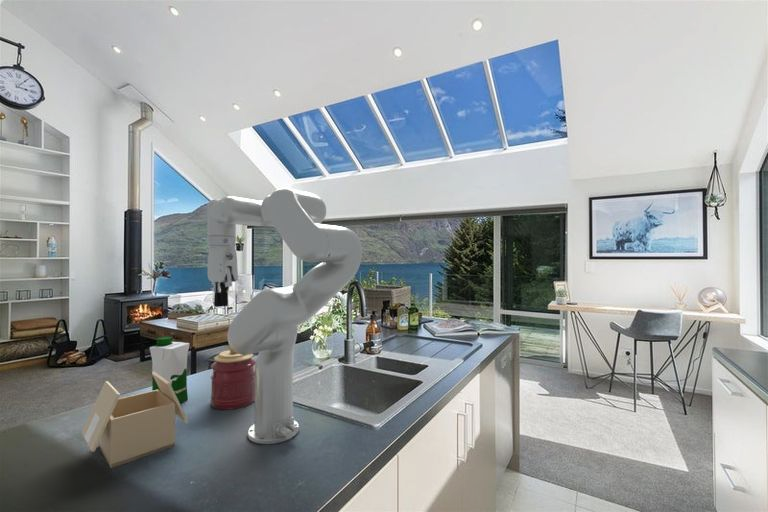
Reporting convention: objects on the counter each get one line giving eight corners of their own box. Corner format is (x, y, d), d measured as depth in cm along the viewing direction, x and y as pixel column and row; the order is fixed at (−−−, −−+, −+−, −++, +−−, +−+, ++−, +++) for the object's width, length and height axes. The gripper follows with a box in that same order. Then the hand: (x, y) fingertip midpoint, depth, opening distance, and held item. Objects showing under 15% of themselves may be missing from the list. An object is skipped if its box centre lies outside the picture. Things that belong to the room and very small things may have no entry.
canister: (238, 412, 106) (238, 352, 106) (200, 407, 110) (201, 348, 110) (263, 396, 119) (264, 341, 119) (229, 392, 122) (230, 339, 122)
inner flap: (186, 423, 90) (189, 421, 90) (166, 383, 86) (170, 382, 87) (169, 409, 98) (172, 407, 98) (151, 372, 95) (154, 371, 95)
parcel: (174, 446, 87) (175, 403, 87) (111, 468, 78) (111, 420, 78) (157, 428, 96) (157, 389, 96) (98, 446, 87) (98, 403, 87)
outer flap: (120, 394, 80) (116, 394, 79) (94, 451, 76) (90, 451, 76) (108, 381, 88) (104, 381, 87) (84, 432, 85) (80, 432, 84)
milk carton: (168, 396, 118) (168, 334, 118) (192, 398, 116) (193, 336, 116) (145, 407, 109) (146, 340, 109) (171, 410, 107) (172, 342, 107)
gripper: (246, 242, 104) (246, 307, 104) (222, 243, 114) (222, 302, 114) (220, 241, 98) (219, 310, 98) (197, 242, 108) (197, 304, 108)
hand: (221, 305), depth 106 cm, fingers closed
